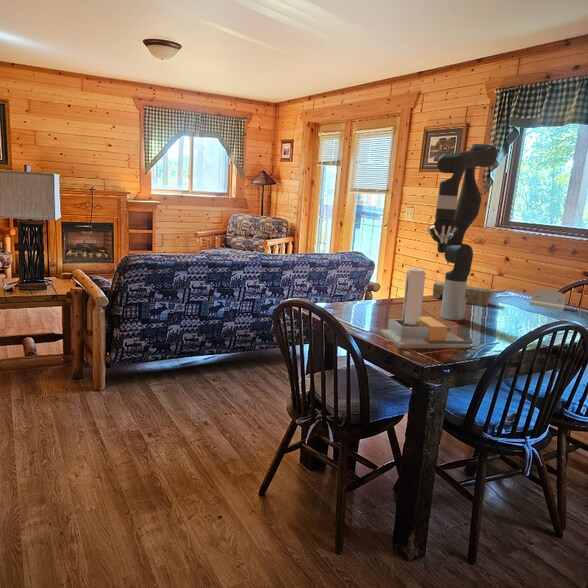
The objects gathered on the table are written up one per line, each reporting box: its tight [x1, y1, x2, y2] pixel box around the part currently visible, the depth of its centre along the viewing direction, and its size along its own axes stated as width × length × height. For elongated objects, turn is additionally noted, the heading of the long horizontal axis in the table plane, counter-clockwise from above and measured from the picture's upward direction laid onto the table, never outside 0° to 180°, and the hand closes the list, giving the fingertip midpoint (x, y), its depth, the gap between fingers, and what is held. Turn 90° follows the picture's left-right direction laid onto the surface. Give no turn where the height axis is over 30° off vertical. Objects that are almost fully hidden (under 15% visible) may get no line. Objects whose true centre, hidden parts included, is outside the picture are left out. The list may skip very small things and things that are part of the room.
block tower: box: [432, 281, 494, 307], centre depth 261 cm, size 8×8×29 cm
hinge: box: [529, 288, 567, 311], centre depth 259 cm, size 17×5×10 cm, turn 54°
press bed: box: [380, 318, 473, 349], centre depth 185 cm, size 28×18×6 cm, turn 101°
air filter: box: [401, 267, 427, 327], centre depth 182 cm, size 6×6×25 cm
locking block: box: [419, 315, 448, 341], centre depth 185 cm, size 6×14×6 cm, turn 11°
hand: (441, 252), depth 196 cm, fingers closed
